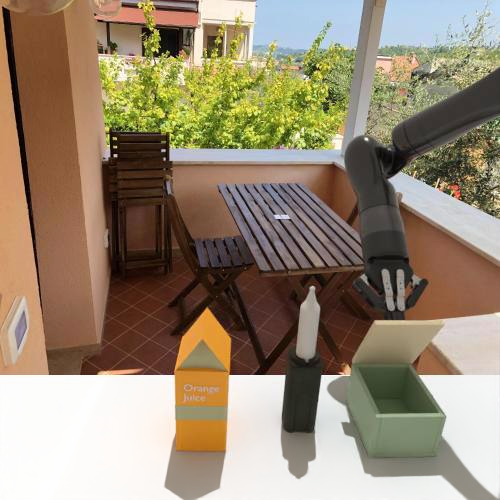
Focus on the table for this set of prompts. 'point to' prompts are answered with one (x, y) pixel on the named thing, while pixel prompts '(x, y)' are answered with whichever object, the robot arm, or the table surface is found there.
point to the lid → (396, 341)
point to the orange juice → (202, 386)
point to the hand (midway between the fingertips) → (397, 335)
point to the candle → (303, 372)
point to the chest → (394, 411)
